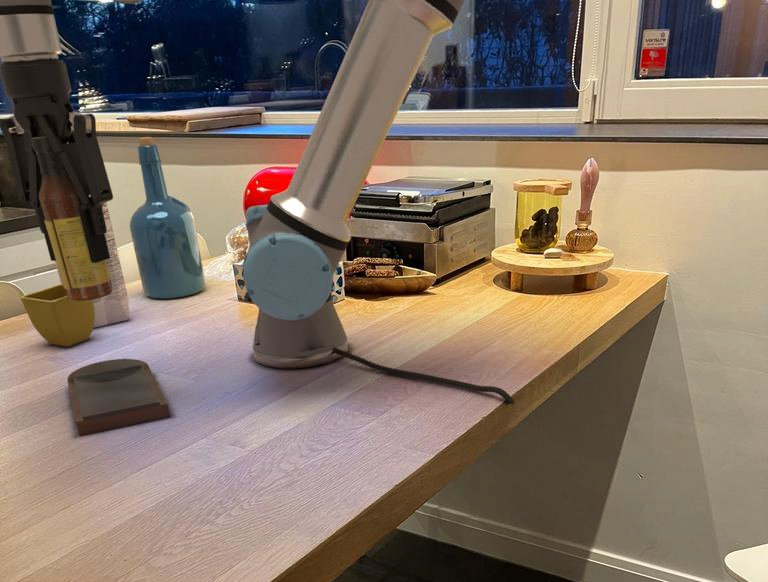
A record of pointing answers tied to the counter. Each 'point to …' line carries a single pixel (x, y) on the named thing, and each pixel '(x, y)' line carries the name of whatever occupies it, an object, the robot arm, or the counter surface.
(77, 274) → the sauce bottle
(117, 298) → the juice carton
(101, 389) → the board
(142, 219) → the wine bottle
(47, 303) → the flower pot
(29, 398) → the counter surface
